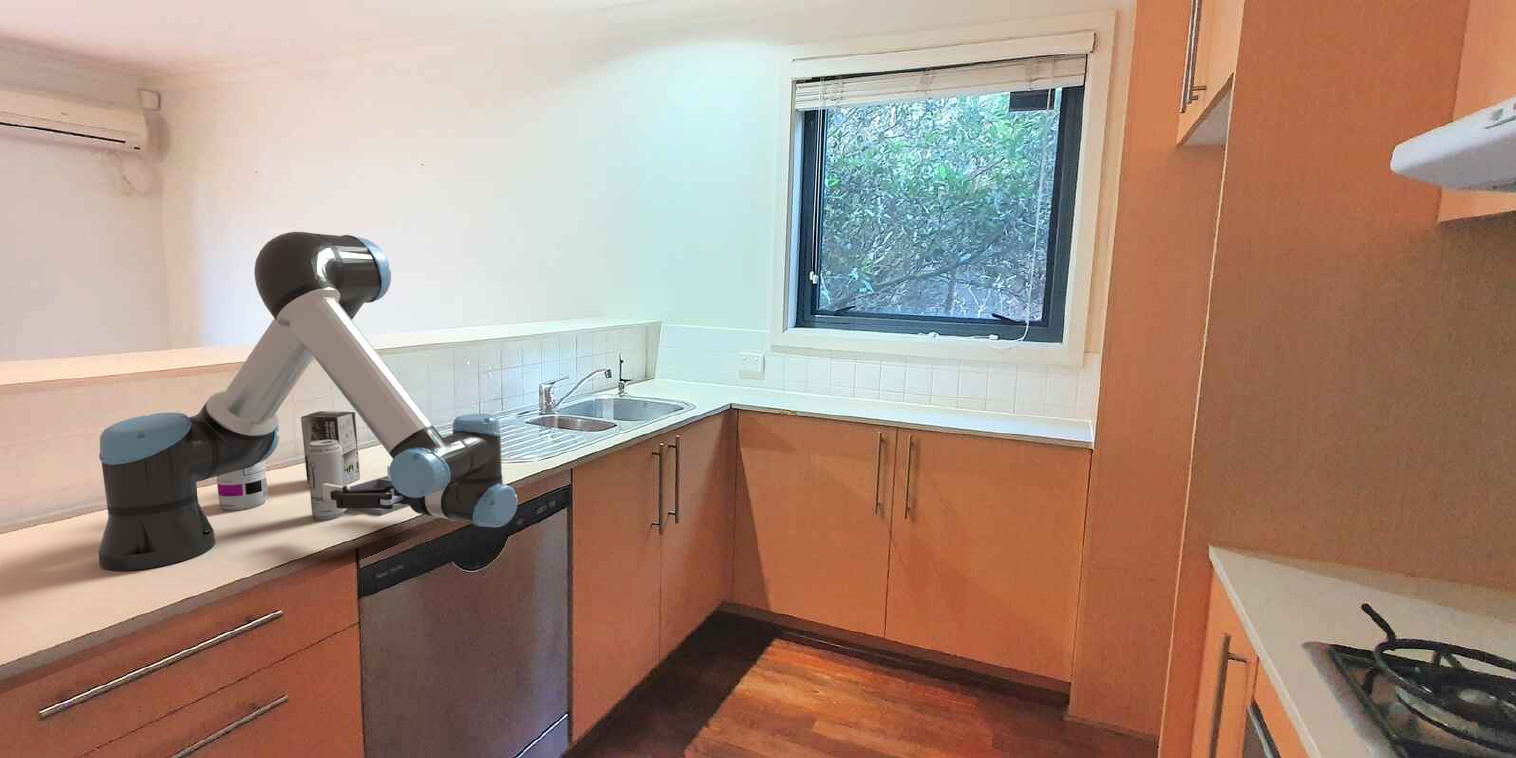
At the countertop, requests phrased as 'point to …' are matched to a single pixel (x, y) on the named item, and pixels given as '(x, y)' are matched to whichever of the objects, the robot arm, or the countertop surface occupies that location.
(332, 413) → the coffee box
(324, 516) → the energy drink can
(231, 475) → the supplement can
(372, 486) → the tray
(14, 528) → the countertop surface
